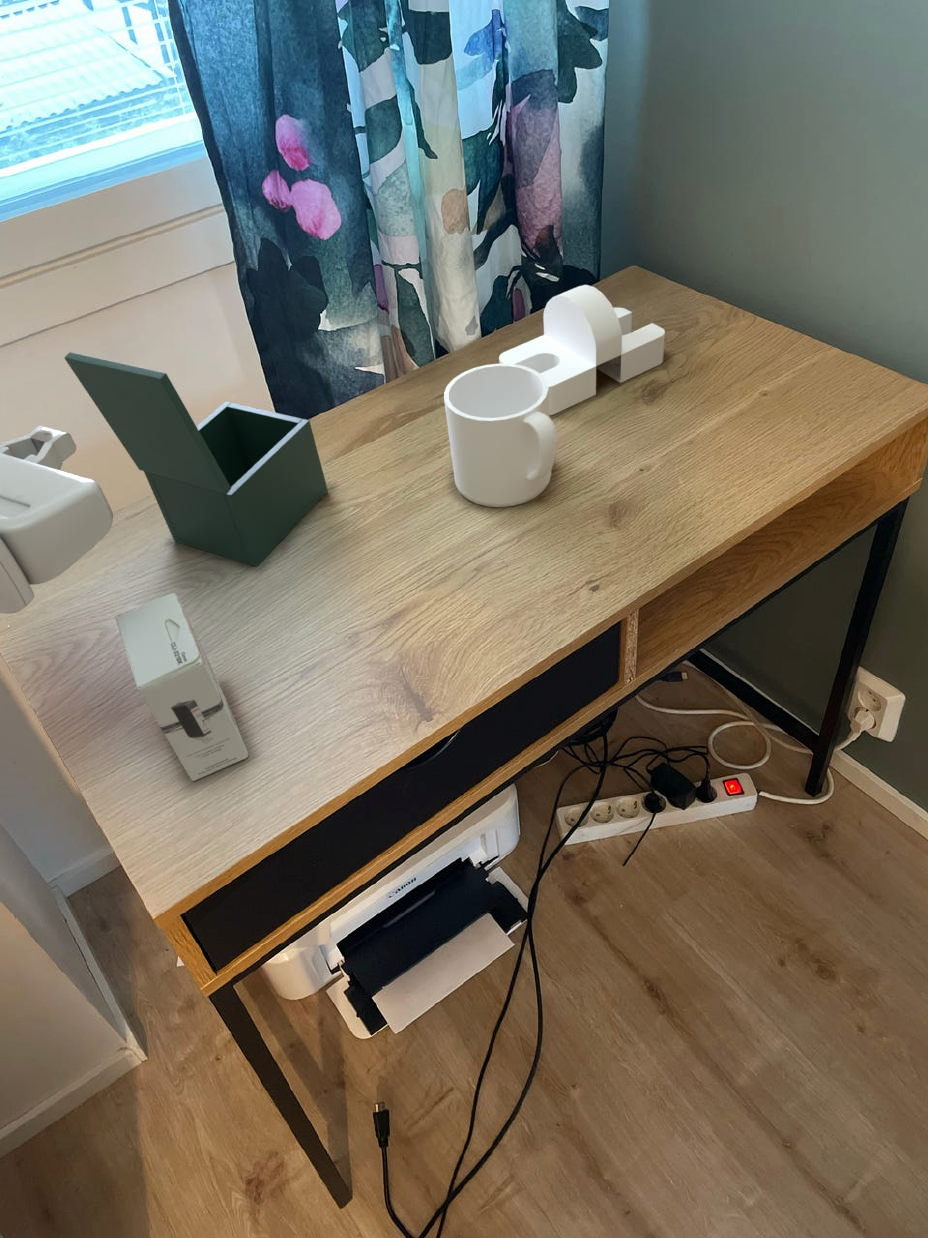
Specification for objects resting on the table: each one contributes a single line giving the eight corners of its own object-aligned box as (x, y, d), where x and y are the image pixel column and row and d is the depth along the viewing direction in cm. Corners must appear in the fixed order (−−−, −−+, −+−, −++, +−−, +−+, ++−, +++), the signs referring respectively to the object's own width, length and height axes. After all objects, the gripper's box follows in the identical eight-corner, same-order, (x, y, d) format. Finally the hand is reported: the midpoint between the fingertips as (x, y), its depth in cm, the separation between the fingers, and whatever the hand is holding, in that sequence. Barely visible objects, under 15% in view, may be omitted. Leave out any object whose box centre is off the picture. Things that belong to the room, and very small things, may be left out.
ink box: (165, 710, 75) (111, 612, 67) (222, 687, 76) (176, 587, 68) (190, 785, 70) (135, 688, 61) (251, 758, 71) (204, 659, 62)
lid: (69, 351, 74) (63, 357, 74) (166, 372, 70) (160, 379, 69) (144, 464, 85) (139, 470, 84) (231, 488, 80) (226, 494, 80)
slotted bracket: (615, 330, 111) (616, 252, 104) (668, 360, 105) (673, 279, 98) (496, 384, 106) (489, 305, 99) (544, 418, 100) (541, 337, 93)
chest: (248, 470, 98) (225, 400, 92) (328, 491, 94) (309, 420, 88) (174, 541, 91) (143, 471, 85) (256, 567, 87) (230, 495, 81)
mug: (435, 479, 94) (422, 393, 86) (506, 438, 98) (500, 352, 90) (516, 533, 86) (509, 444, 79) (589, 486, 90) (589, 397, 83)
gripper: (-154, 546, 67) (-12, 444, 75) (36, 619, 60) (172, 497, 68) (-207, 478, 63) (-50, 377, 71) (-9, 548, 55) (142, 426, 63)
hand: (60, 436), depth 69 cm, fingers closed
